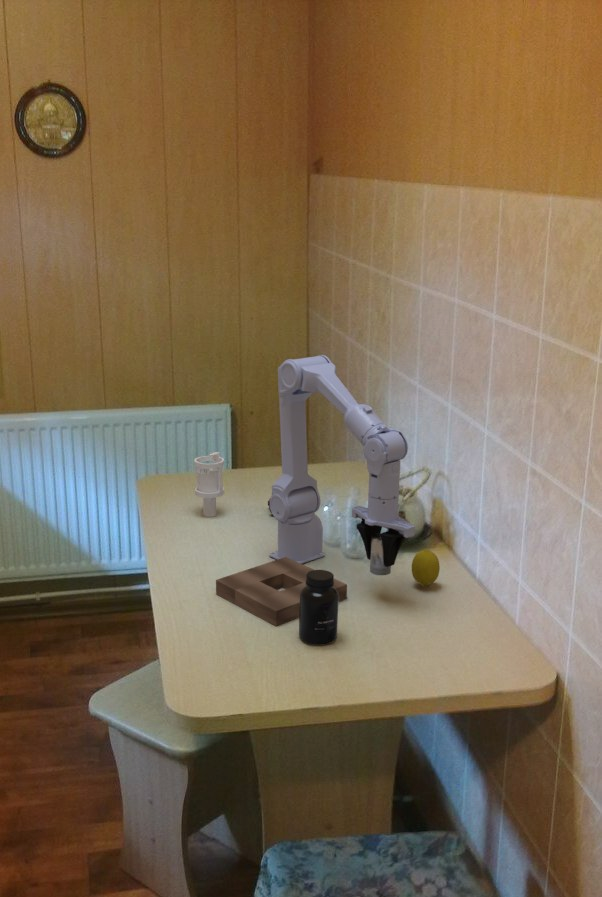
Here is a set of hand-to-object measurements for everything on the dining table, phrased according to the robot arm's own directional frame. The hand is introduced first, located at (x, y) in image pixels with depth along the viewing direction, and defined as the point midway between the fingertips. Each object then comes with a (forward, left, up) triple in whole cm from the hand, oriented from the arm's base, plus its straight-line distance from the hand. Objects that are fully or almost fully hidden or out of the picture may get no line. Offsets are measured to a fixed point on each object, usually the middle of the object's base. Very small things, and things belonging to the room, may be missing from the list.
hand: (380, 561), depth 179 cm
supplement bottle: (+20, +4, -8) cm, 22 cm away
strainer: (-3, -59, -8) cm, 60 cm away
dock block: (+14, -13, -8) cm, 21 cm away
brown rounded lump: (-15, -45, -8) cm, 48 cm away
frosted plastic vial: (0, 0, -2) cm, 2 cm away
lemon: (-11, +2, -8) cm, 14 cm away
